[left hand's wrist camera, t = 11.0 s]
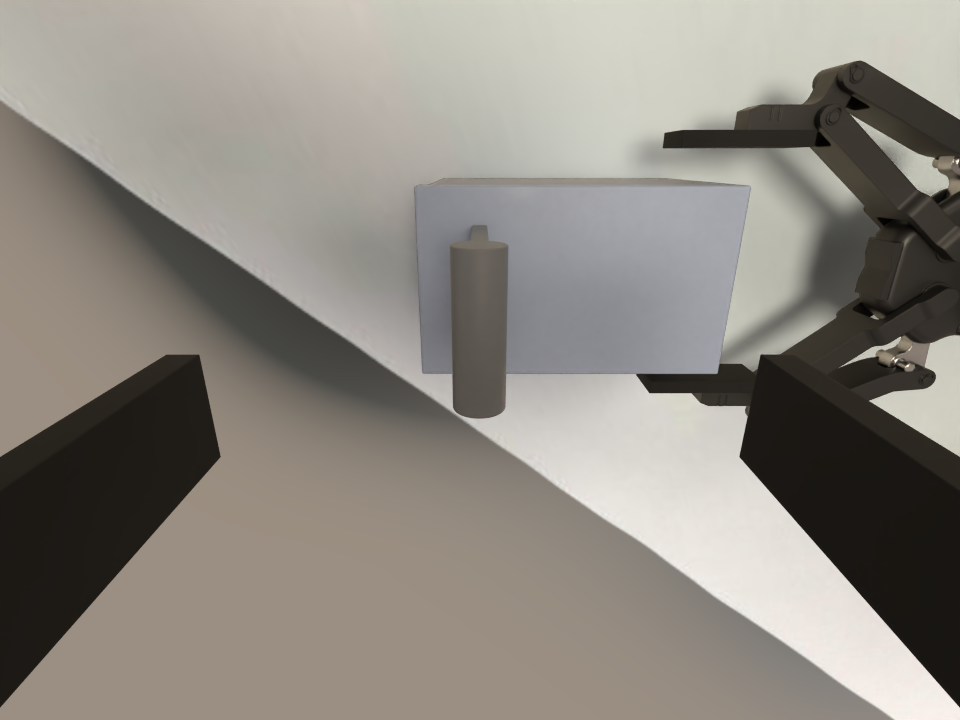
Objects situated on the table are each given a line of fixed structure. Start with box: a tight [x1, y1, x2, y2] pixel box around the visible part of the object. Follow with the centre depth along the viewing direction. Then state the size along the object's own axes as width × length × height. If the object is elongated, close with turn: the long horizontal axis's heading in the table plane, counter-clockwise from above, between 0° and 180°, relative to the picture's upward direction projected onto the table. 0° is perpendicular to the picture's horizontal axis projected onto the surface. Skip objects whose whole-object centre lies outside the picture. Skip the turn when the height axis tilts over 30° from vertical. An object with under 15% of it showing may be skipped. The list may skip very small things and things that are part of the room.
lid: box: [414, 185, 751, 418], centre depth 21 cm, size 15×9×9 cm, turn 90°
